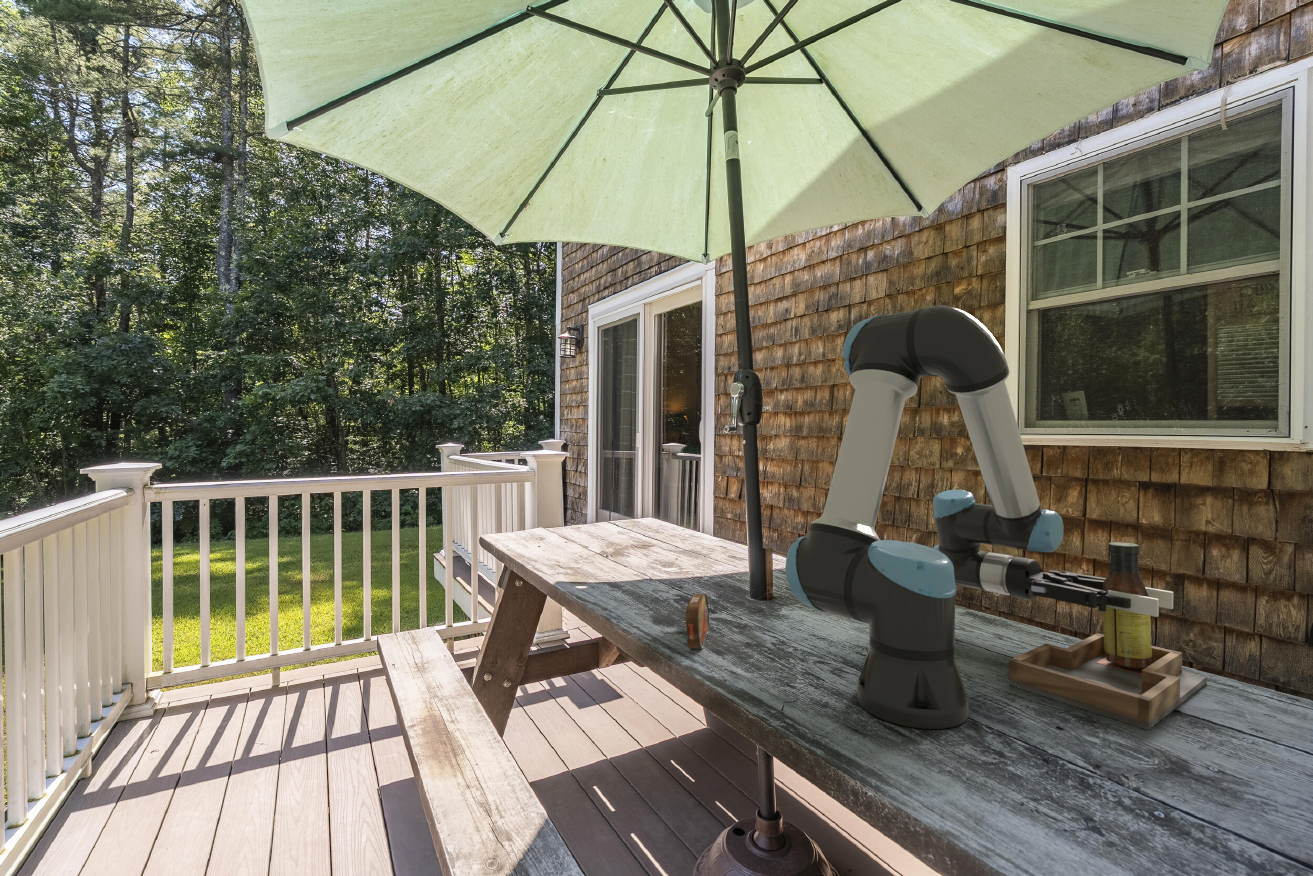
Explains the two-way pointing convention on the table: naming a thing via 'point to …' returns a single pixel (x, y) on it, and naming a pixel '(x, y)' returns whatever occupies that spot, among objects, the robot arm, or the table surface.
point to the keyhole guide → (1106, 681)
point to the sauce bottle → (1123, 628)
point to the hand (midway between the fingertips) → (1165, 604)
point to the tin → (697, 620)
